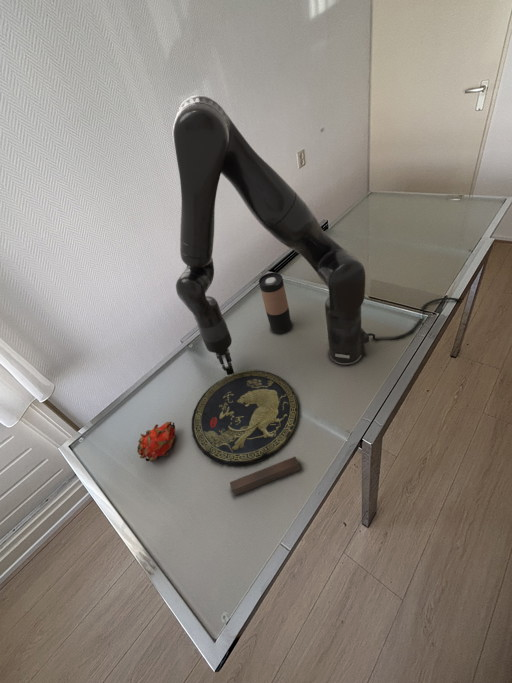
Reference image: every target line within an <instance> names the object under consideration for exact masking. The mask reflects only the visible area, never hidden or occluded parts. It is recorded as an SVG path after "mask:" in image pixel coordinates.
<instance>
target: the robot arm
mask: <svg viewBox="0 0 512 683" xmlns="http://www.w3.org/2000/svg"><path fill="white" fill-rule="evenodd" d="M172 140H173V145H174V151H175V155H176V156H175V157H176V163H177V169H178V175H179V176H178V177H179V184H180V198H181V199H180V201H181V208H180V226H179V228H180V229H179V230H180V231H179V232H180V233H179V254H180V258H181V261H182V262H183V263H184V264H185V265H186V268H185V269H184V271H183V272H182V273H181V275H180V276H179V277H178V278H177V279H176V282H175V290H176V291H175V292H176V295H177V297H178V298H179V299H180V300H181V302H182V303H183V304H184V306H186V308H187V309H188V310H189V311H190V312H191V313H192V315H193V317H194V320H195V322H196V324H197V328H198V332H199V334H200V337H201V338H202V341H203V343H204V346H205V347H206V350H207V351H208V352H210V353H212V354H215V356H216V359H217V360H218V362H219V364H220V365H221V368H222V370H223V371H224V372H226V375H227V376H229V375H232V374H234V373H235V371H234V366H233V363H232V356H231V352H230V349H229V348H230V347H231V345H232V335H231V333H230V331H229V327H228V325H227V321H226V320H225V318H224V316H223V313H222V310H221V307H220V305H219V302H218V301H217V300H216V298H215V297H213V296H210V295H206V293H207V292H208V290H209V289H210V287H211V285H212V283H213V281H214V277H215V266H214V260H213V252H214V242H215V241H214V240H215V221H216V220H215V218H216V217H215V214H216V213H215V212H216V199H217V191H218V188H219V187H218V186H219V182H220V179H221V178H220V177H221V175H222V176H223V177H224V179H226V180H227V181H228V182H229V183H230V184H231V185H232V187H233V188H234V190H235V191H236V192H237V194H238V195H239V197H240V199H241V201H242V202H243V204H244V205H245V206H246V207H247V209H248V210H249V212H250V213H251V215H252V217H254V219H255V220H256V221H257V222H258V224H260V225H261V226H262V228H264V229H265V230H266V232H269V234H270V235H271V236H273V238H274V239H276V240H277V241H279V242H280V243H281V244H282V245H284V246H286V247H287V248H289V249H291V250H293V251H294V252H296V253H298V254H299V255H300V256H301V257H303V259H305V260H306V262H307V263H308V264H309V266H311V267H312V269H313V270H314V272H315V273H316V275H317V276H318V277H319V278H320V280H321V281H322V282H323V284H324V285H325V286H326V287H327V289H328V297H327V298H326V299H325V301H324V311H325V321H326V330H327V339H328V342H327V343H328V350H329V354H328V355H329V358H330V360H331V361H332V362H334V363H335V364H337V365H340V366H350V365H353V364H356V363H358V362H359V361H360V360H361V358H362V357H363V356H365V344H368V343H370V337H372V340H373V341H378V342H379V341H393V340H398V339H401V338H404V337H406V336H408V335H410V334H411V333H413V332H414V331H416V329H417V328H418V327H419V326H420V324H421V323H422V321H423V319H420V318H419V320H418V321H417V322H416V324H415V325H414V326H413V327H412V328H411V329H410V330H409V331H407V332H405V333H402V334H400V335H396V336H393V337H387V338H377V337H376V334H374V333H372V332H371V333H370V332H369V333H367V332H366V331H365V330H364V328H362V305H363V304H364V301H365V294H366V269H365V267H364V265H363V263H362V262H361V261H360V260H358V258H357V257H355V256H354V255H353V254H352V253H351V252H349V251H348V250H347V249H345V248H343V246H341V245H340V244H339V243H337V242H336V241H335V240H334V239H333V238H331V237H330V235H328V234H327V233H326V232H325V230H323V228H322V226H321V225H320V223H319V221H318V219H317V217H316V215H315V214H314V213H313V211H312V209H311V208H310V207H309V206H308V204H307V203H306V202H305V201H304V199H303V198H301V196H300V195H299V194H298V193H297V191H295V190H294V188H292V186H290V184H289V183H288V182H286V180H285V179H284V178H283V177H282V176H281V175H279V173H277V171H276V170H275V169H274V168H272V166H270V165H269V163H267V162H266V161H265V160H264V159H263V158H262V157H261V156H260V155H259V154H258V153H257V152H256V151H255V149H254V148H253V147H252V145H250V143H249V142H248V141H247V140H246V138H245V137H244V135H243V134H242V133H241V132H240V131H239V129H238V128H237V126H236V125H235V123H234V122H233V121H232V119H231V117H230V116H229V115H228V114H227V113H226V111H225V109H224V108H223V106H221V105H220V104H219V103H218V102H217V101H216V100H214V99H212V98H211V97H209V96H206V95H199V94H197V95H191V96H189V97H188V98H186V99H184V101H183V102H182V103H181V104H180V106H179V107H178V110H177V113H176V115H175V119H174V121H173V126H172ZM449 300H450V301H456V302H461V300H460V299H459V298H456V297H440V298H436V299H433V300H430V301H428V302H425V303H424V304H423V305H422V306H421V309H420V311H421V310H423V312H424V310H425V308H426V307H427V306H428V305H430V304H433V303H436V302H439V301H449Z"/></svg>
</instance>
